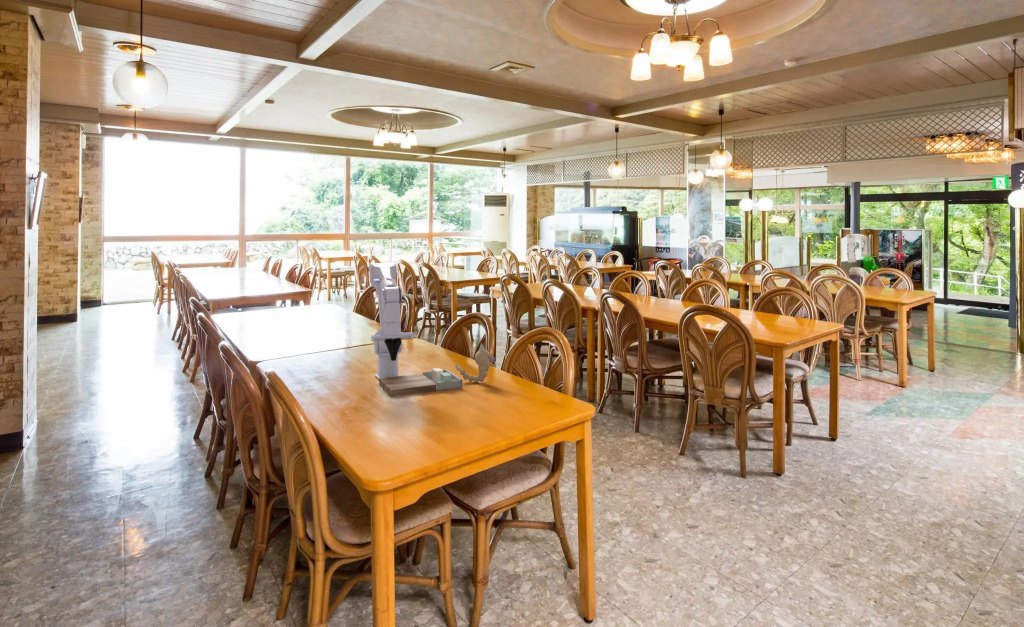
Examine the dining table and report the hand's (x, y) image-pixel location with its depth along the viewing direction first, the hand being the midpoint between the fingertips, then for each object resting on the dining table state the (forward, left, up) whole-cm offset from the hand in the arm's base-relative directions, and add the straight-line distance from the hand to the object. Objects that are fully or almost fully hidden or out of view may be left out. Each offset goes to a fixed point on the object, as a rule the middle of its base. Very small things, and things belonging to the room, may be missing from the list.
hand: (393, 360), depth 204 cm
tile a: (-2, +15, -8) cm, 17 cm away
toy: (+4, +29, -11) cm, 31 cm away
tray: (0, +18, -10) cm, 20 cm away
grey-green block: (+6, +16, -8) cm, 19 cm away
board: (0, +5, -10) cm, 11 cm away
